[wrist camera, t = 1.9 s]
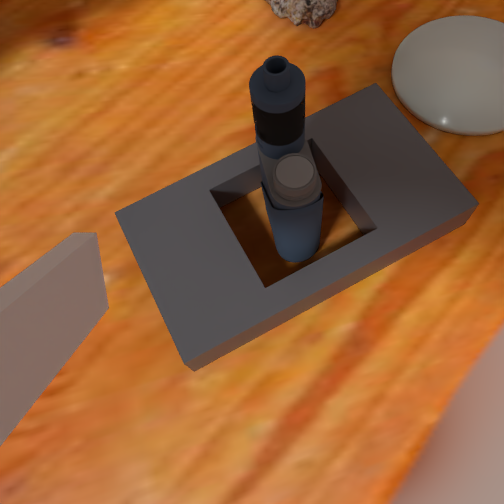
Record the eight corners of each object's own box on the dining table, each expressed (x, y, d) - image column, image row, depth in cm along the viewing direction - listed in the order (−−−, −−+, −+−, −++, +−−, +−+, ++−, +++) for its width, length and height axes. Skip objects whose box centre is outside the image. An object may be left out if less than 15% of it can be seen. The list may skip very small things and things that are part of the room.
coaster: (363, 58, 34) (363, 53, 34) (479, 1, 35) (482, -4, 35) (450, 160, 30) (453, 155, 30) (578, 92, 31) (583, 87, 31)
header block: (128, 231, 30) (114, 212, 28) (370, 109, 32) (375, 82, 30) (194, 371, 26) (184, 363, 24) (464, 223, 28) (479, 203, 26)
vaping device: (300, 186, 30) (299, 35, 19) (323, 260, 28) (337, 137, 17) (260, 196, 30) (237, 50, 19) (281, 271, 28) (269, 154, 17)
